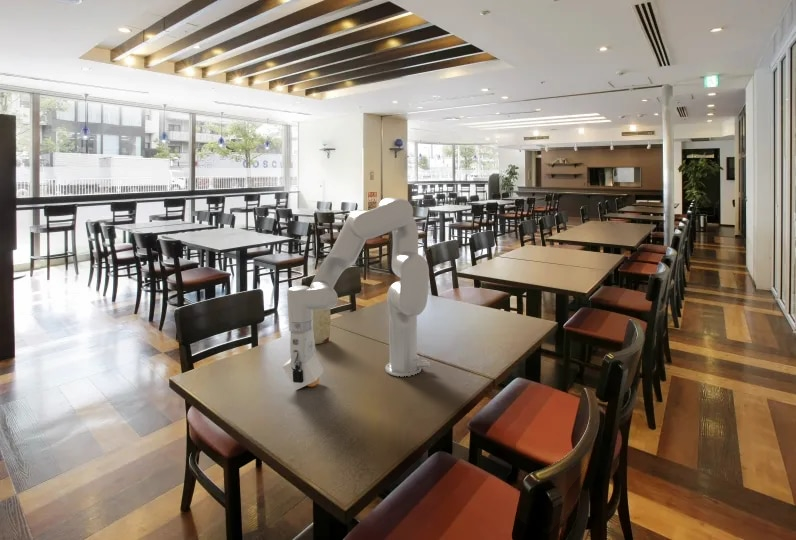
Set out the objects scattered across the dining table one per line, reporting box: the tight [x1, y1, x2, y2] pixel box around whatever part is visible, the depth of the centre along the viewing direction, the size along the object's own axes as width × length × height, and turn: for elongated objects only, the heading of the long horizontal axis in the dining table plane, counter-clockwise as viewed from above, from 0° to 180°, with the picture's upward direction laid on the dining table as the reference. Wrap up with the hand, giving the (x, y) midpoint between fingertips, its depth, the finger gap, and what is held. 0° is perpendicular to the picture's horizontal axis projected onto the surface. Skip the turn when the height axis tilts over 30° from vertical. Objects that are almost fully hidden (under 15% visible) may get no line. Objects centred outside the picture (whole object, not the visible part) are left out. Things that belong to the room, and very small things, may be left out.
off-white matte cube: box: [282, 353, 325, 391], centre depth 148 cm, size 8×8×9 cm
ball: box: [306, 377, 320, 387], centre depth 148 cm, size 5×5×5 cm
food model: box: [312, 309, 332, 345], centre depth 186 cm, size 10×7×20 cm
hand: (303, 376), depth 149 cm, fingers open, 8 cm apart
